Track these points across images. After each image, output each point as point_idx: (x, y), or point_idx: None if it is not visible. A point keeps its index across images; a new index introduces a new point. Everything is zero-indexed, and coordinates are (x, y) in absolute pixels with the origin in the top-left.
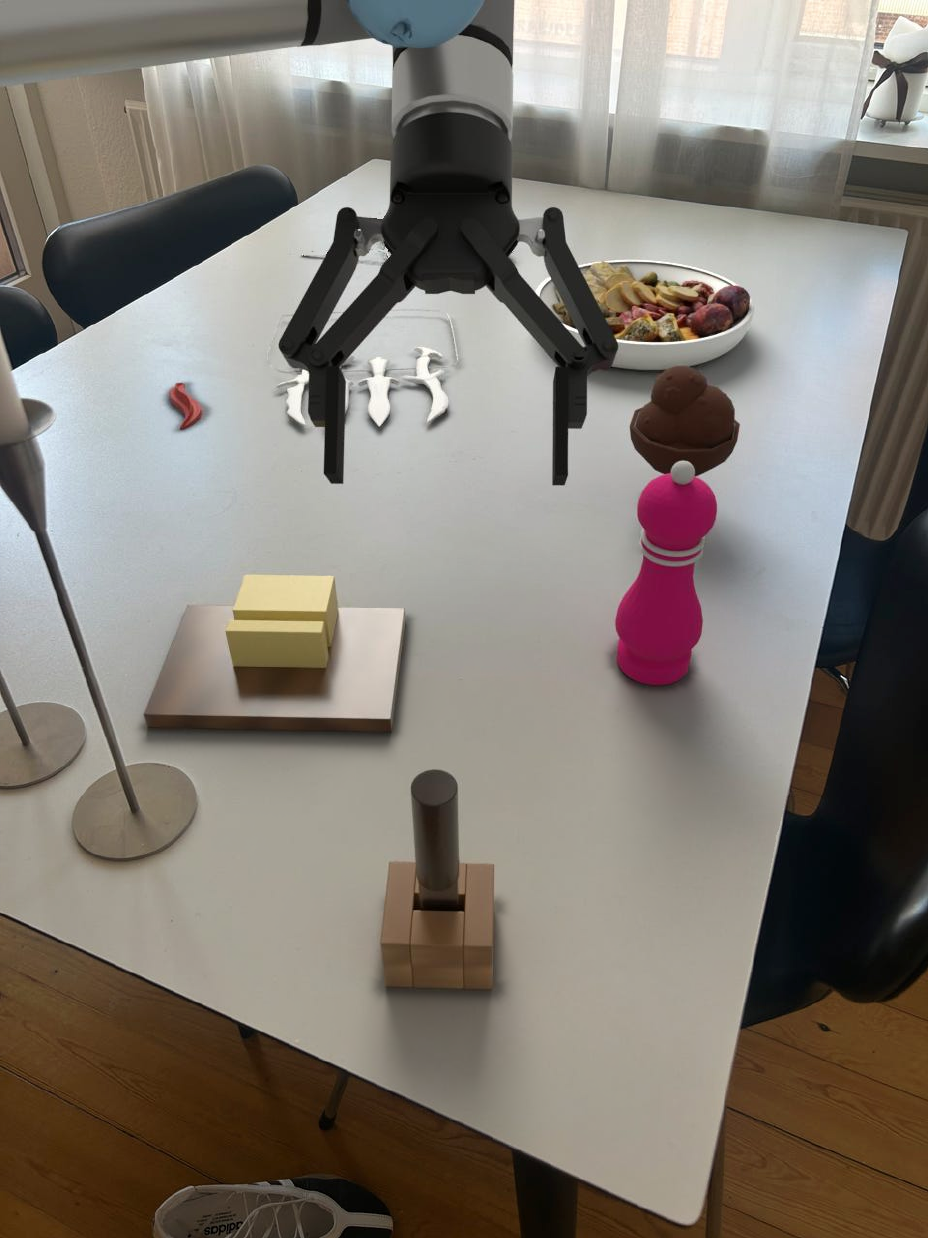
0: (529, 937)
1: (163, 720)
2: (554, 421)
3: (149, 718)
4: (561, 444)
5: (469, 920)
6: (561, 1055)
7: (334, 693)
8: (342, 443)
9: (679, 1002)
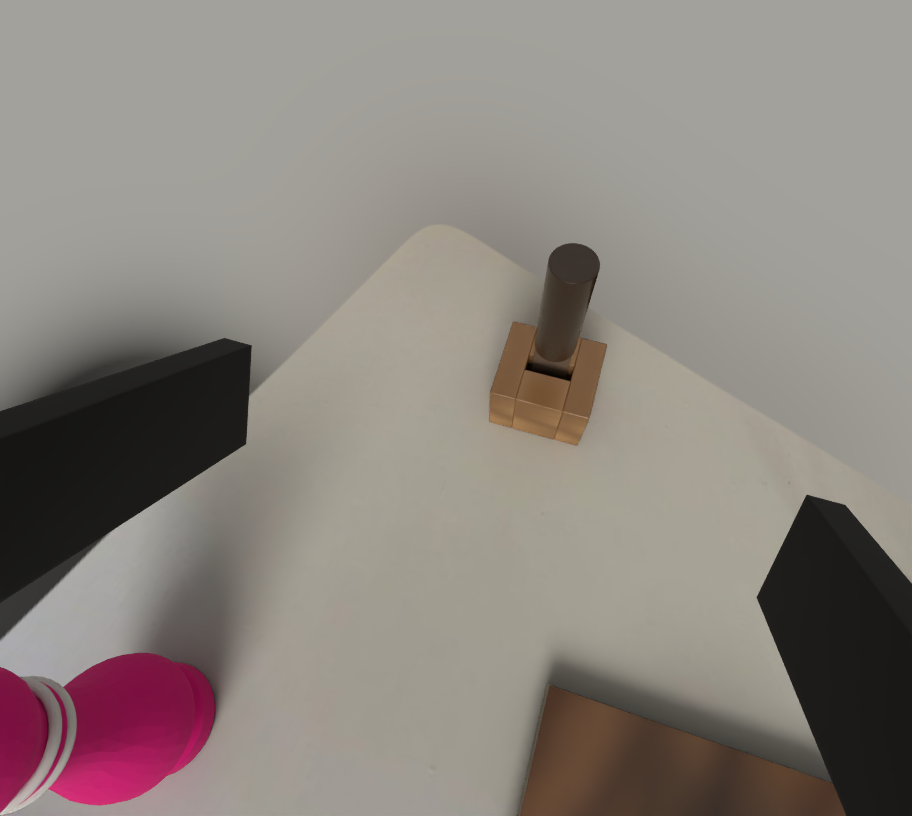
0: (466, 389)
1: None
2: (146, 426)
3: None
4: (187, 359)
5: (526, 346)
6: (474, 304)
7: (622, 766)
8: (805, 645)
9: (375, 317)
